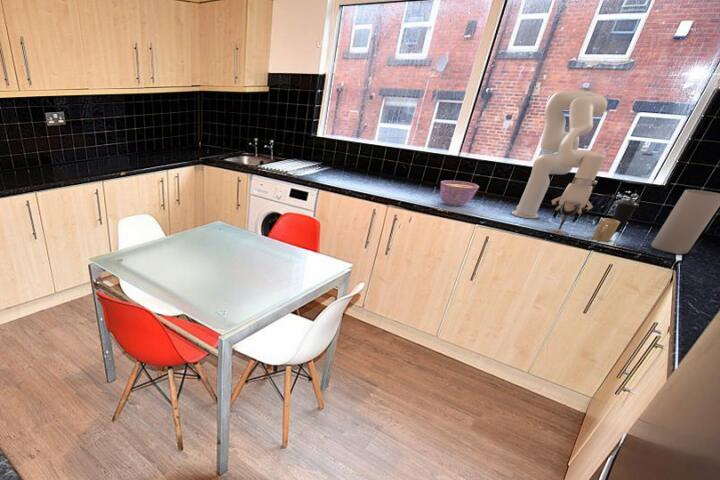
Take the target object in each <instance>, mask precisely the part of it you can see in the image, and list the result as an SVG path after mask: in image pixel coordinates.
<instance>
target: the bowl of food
mask: <svg viewBox="0 0 720 480" xmlns="http://www.w3.org/2000/svg"><path fill="white" fill-rule="evenodd" d="M479 188H480V186H479V185H478V184H476V183H473V182H469V181H464V180H451V179H450V180H446V179H445V180H441V181H440V191H439V192H440V194H439V197H440V199H441V201H442V202H444V203H445V205H447V206H451V207H461V206H463V205H466V204H468V203H469V202H471V200H472V199H473V198H474V196H475V195H476V193H477V191H478V190H479Z"/></svg>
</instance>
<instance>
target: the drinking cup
mask: <svg viewBox="0 0 720 480" xmlns="http://www.w3.org/2000/svg"><path fill="white" fill-rule="evenodd" d="M637 191H638V189H635V190H634V191H633V193H632V195H631V197H630V198H629V200H627V199H626V200H625V199H624V200H619V201H618V204H617V206H616V209H615V211H614V214H613V216H612V218H611V219H614V220H618V221H620V224H619V226H618V227H617V229H616V231H615V233H620V232H621V230H622V229H623V227H624V226H625V225H626V224H627V222H628V220H629V219H630V217H631V216H632V215H633V213H634V212H635V210H636V209H637V207H639V206H640V205H639V203H638V202H636V201H633V198H634V197H635V195H636V193H637Z"/></svg>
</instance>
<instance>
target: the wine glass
mask: <svg viewBox="0 0 720 480" xmlns="http://www.w3.org/2000/svg"><path fill="white" fill-rule="evenodd" d="M580 206H581V204H575V203H569V202H565V201H564V202H563V204H562V205H561V207H560V209H559V212H558V214H559V216H560V218H561V220H560V221H561V222H560V224H559V226H558V229H550V230H548V231H549V232H550V233H552V234H556V235H563V236H565V235H567V232H565V231H562V230H561V229H562V226H563V225H564V223H565V222H566V221H567V220H569V219H571V218H572V217H575V215H576V214H577V213H578V211H579V209H580Z"/></svg>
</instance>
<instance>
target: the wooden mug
mask: <svg viewBox="0 0 720 480" xmlns="http://www.w3.org/2000/svg"><path fill="white" fill-rule="evenodd" d="M619 224H620V221H618V220H614V219H612V218H608V217H607V218H606V217H603V218H602V217H601V219H600V220H599V222H598V224H597V226H596V228H595V230H594V231H593V233H592V235H591V239H592V240H595V241H599V242H610V241H611V240H612V238H613V237H614V234H615V233H616V232H615V231H616V229H617V227H618V226H619Z"/></svg>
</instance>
